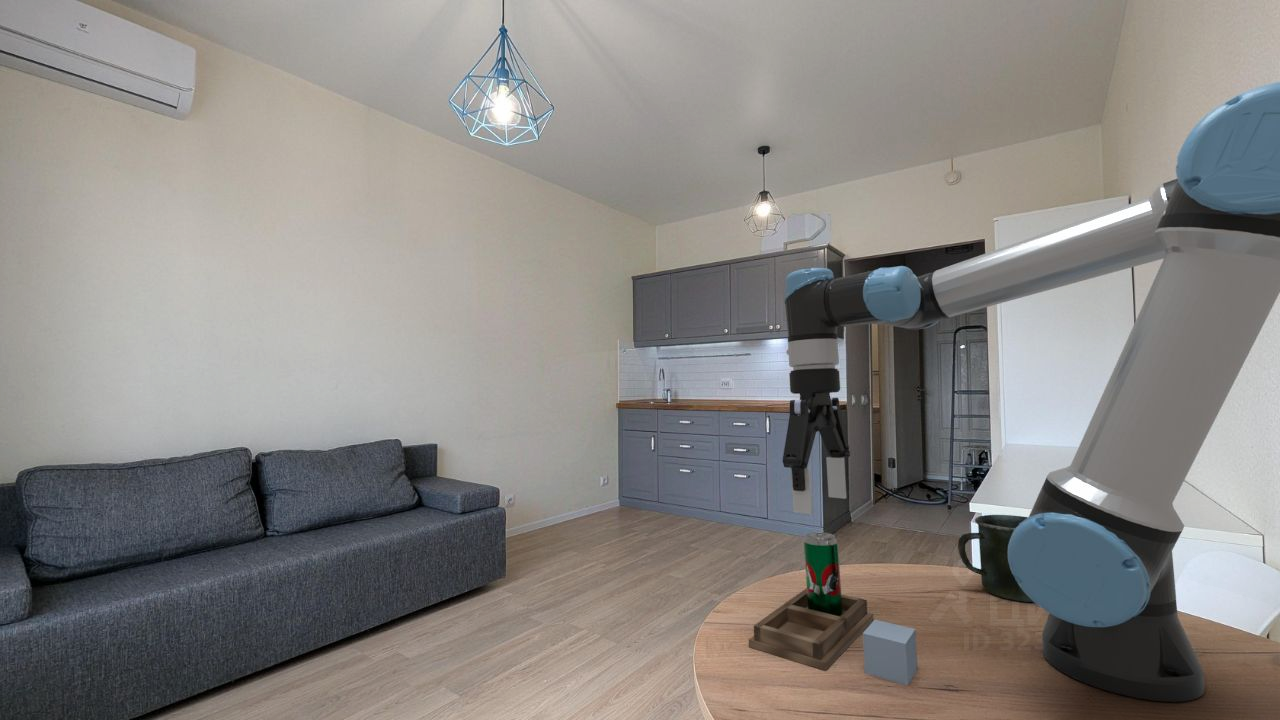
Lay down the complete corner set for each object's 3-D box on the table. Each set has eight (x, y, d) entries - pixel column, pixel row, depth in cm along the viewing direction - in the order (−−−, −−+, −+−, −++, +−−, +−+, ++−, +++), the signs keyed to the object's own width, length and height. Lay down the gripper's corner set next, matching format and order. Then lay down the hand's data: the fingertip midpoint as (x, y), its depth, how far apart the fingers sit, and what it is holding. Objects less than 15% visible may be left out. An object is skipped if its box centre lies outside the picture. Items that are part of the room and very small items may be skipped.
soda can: (846, 612, 85) (840, 533, 86) (839, 623, 80) (833, 540, 82) (813, 607, 87) (807, 530, 89) (804, 618, 83) (799, 537, 84)
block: (917, 669, 70) (915, 629, 70) (907, 686, 66) (905, 643, 66) (876, 658, 73) (874, 619, 73) (864, 673, 69) (862, 633, 69)
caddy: (873, 620, 84) (872, 600, 84) (825, 670, 70) (824, 646, 70) (804, 604, 91) (804, 585, 91) (748, 646, 77) (748, 624, 77)
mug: (1073, 605, 88) (1068, 529, 88) (976, 603, 90) (971, 529, 90) (1034, 582, 98) (1030, 514, 99) (948, 580, 100) (944, 514, 101)
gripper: (821, 370, 98) (828, 490, 97) (753, 368, 79) (761, 517, 78) (864, 368, 93) (872, 493, 92) (803, 365, 74) (812, 523, 73)
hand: (821, 505), depth 85 cm, fingers open, 13 cm apart
